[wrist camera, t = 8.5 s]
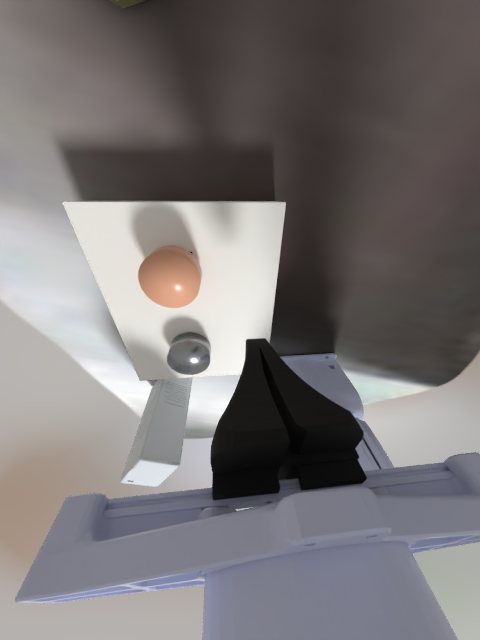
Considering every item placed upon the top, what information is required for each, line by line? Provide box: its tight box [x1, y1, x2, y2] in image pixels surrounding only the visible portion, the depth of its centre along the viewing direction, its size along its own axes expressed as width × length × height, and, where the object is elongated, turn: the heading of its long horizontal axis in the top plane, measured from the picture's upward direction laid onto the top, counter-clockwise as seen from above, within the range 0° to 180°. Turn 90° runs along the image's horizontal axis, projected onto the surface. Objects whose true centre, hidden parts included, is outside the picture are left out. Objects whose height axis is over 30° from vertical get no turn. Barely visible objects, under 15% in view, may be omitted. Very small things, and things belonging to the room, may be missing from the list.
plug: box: [167, 332, 211, 375], centre depth 22 cm, size 4×4×5 cm
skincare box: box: [120, 377, 192, 486], centre depth 24 cm, size 6×4×12 cm
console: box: [62, 201, 286, 381], centre depth 21 cm, size 16×19×4 cm
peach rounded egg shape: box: [138, 245, 202, 308], centre depth 16 cm, size 4×4×5 cm
